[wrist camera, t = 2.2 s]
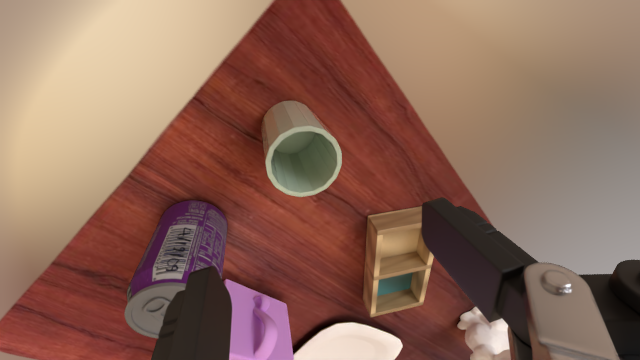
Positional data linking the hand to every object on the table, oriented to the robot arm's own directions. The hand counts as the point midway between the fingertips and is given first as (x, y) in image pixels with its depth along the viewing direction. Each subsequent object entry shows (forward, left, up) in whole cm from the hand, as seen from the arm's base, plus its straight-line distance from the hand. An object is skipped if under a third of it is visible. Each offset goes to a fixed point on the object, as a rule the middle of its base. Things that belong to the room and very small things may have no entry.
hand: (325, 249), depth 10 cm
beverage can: (+12, -11, -21) cm, 26 cm away
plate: (+48, +6, -21) cm, 52 cm away
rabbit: (+46, +35, -21) cm, 61 cm away
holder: (+24, +15, -20) cm, 35 cm away
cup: (+2, +1, -20) cm, 21 cm away
